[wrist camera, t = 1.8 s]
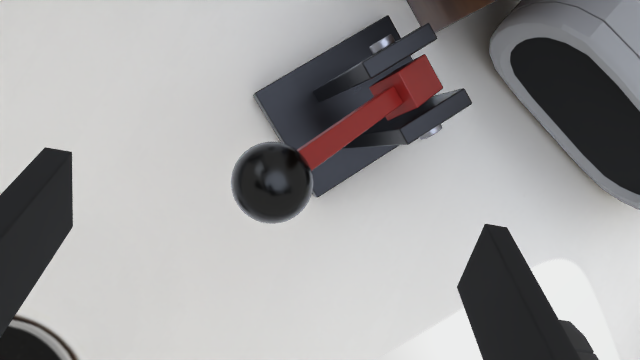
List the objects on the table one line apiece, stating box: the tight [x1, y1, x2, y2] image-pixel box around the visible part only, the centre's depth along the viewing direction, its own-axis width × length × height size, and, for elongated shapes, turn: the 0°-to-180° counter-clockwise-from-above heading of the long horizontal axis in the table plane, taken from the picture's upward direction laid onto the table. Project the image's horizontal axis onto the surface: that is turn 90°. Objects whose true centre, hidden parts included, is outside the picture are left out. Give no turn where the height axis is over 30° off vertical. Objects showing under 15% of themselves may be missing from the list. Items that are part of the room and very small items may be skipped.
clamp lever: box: [231, 54, 443, 223], centre depth 27 cm, size 14×4×4 cm, turn 121°
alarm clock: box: [489, 0, 640, 210], centre depth 40 cm, size 21×10×13 cm, turn 46°
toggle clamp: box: [253, 15, 472, 197], centre depth 35 cm, size 12×9×14 cm
